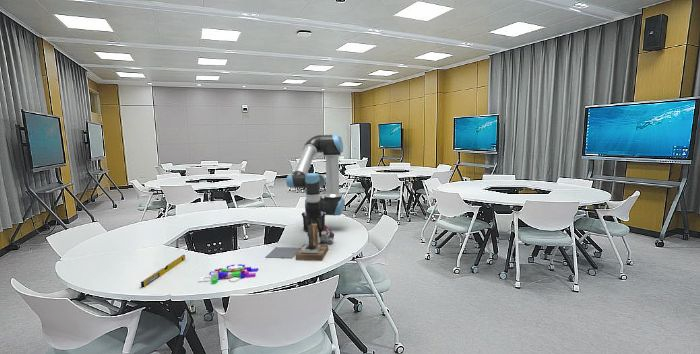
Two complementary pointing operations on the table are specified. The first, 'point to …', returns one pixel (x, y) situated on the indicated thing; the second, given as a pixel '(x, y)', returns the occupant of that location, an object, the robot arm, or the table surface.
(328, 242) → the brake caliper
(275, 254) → the rubber mat
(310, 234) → the wooden peg stand
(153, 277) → the spirit level
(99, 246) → the table surface
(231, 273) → the building block set
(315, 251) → the square frame with handle
